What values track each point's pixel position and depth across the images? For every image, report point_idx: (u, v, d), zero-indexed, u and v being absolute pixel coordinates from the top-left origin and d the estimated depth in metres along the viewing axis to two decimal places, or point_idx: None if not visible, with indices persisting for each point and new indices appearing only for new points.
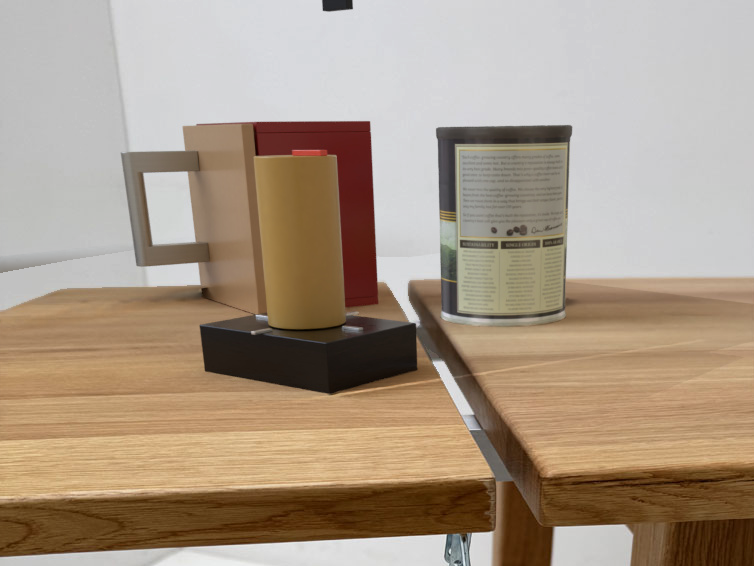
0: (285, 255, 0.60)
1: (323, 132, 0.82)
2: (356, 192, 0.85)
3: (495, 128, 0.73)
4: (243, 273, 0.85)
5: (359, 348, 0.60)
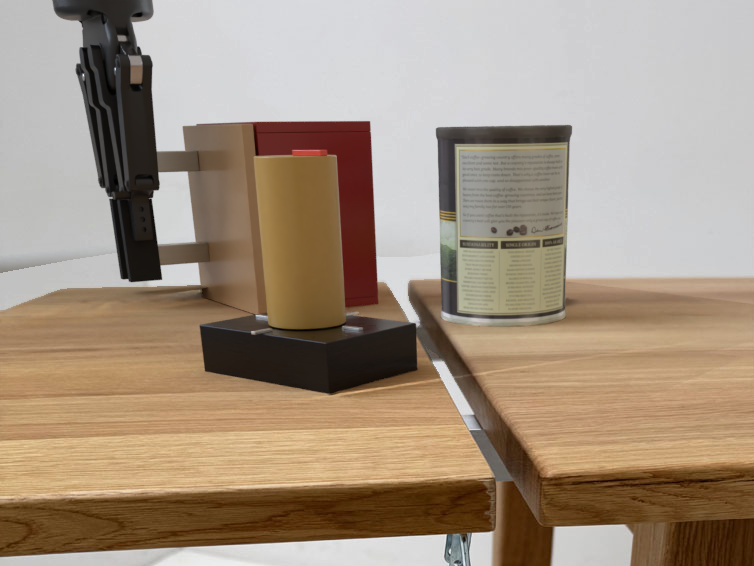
0: (285, 255, 0.60)
1: (323, 132, 0.82)
2: (356, 192, 0.85)
3: (495, 128, 0.73)
4: (243, 273, 0.85)
5: (359, 348, 0.60)
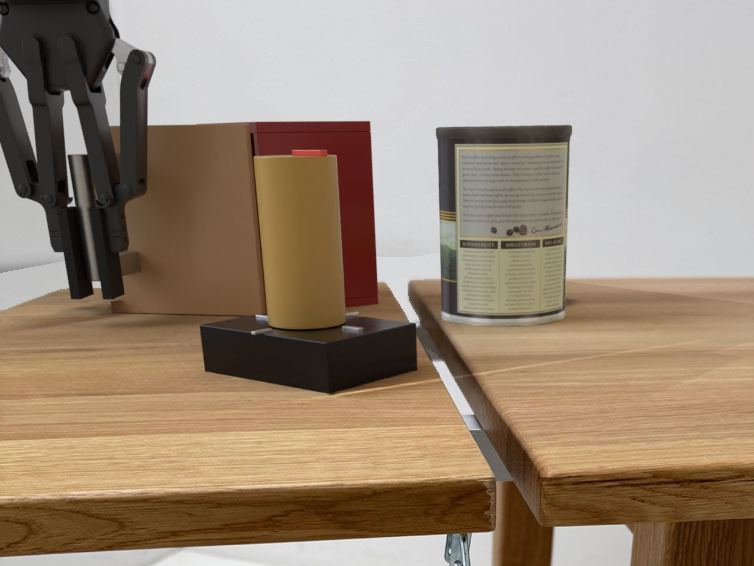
0: (285, 255, 0.60)
1: (323, 132, 0.82)
2: (356, 192, 0.85)
3: (495, 128, 0.73)
4: (230, 276, 0.83)
5: (359, 348, 0.60)
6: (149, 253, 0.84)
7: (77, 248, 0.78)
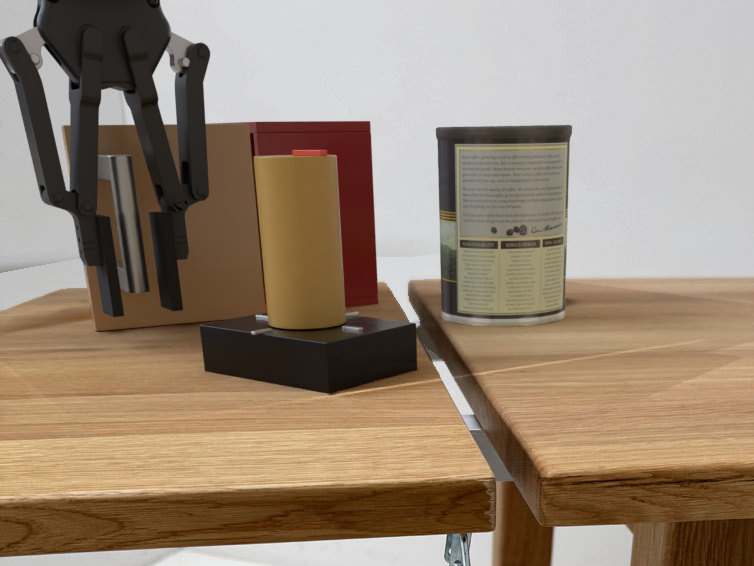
0: (285, 255, 0.60)
1: (323, 132, 0.82)
2: (356, 192, 0.85)
3: (495, 128, 0.73)
4: (233, 278, 0.82)
5: (359, 348, 0.60)
6: None
7: None
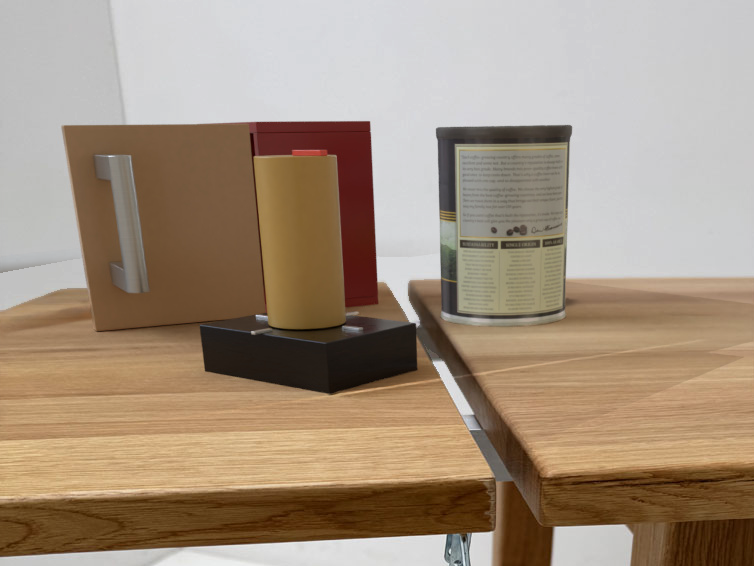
0: (285, 255, 0.60)
1: (323, 132, 0.82)
2: (356, 192, 0.85)
3: (495, 128, 0.73)
4: (233, 278, 0.82)
5: (359, 348, 0.60)
6: None
7: None
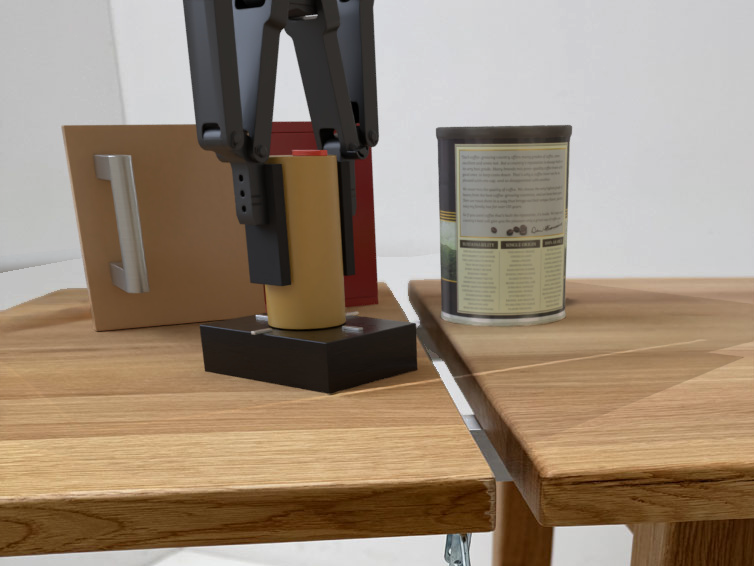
0: None
1: None
2: (356, 192, 0.85)
3: (495, 128, 0.73)
4: (233, 278, 0.82)
5: (359, 348, 0.60)
6: None
7: None
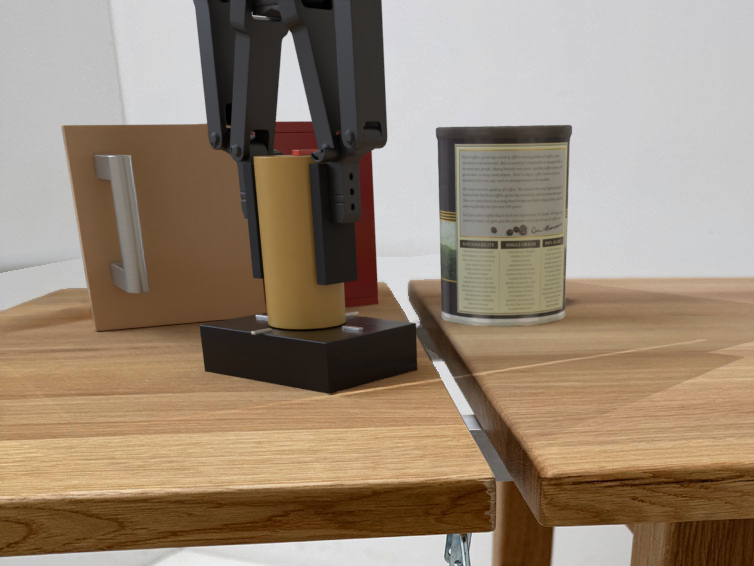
0: None
1: None
2: None
3: (495, 128, 0.73)
4: (233, 278, 0.82)
5: (359, 348, 0.60)
6: None
7: None
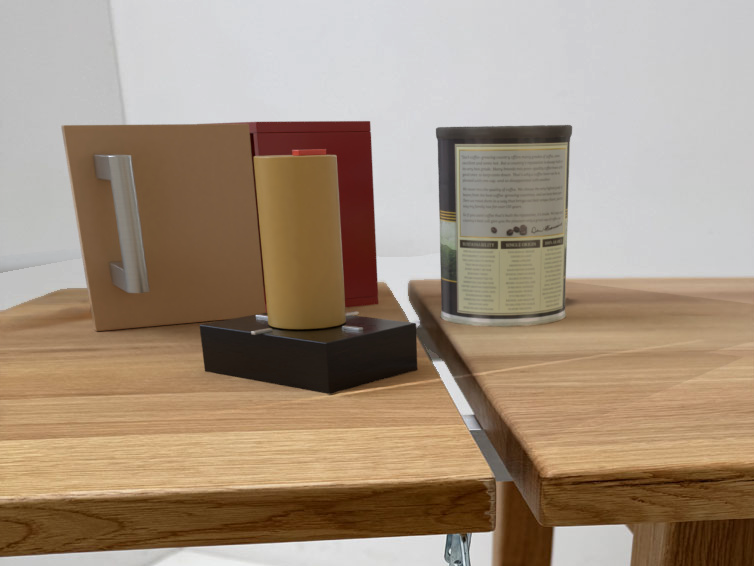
0: (339, 251, 0.61)
1: (323, 132, 0.82)
2: (356, 192, 0.85)
3: (495, 128, 0.73)
4: (233, 278, 0.82)
5: (359, 348, 0.60)
6: None
7: None
